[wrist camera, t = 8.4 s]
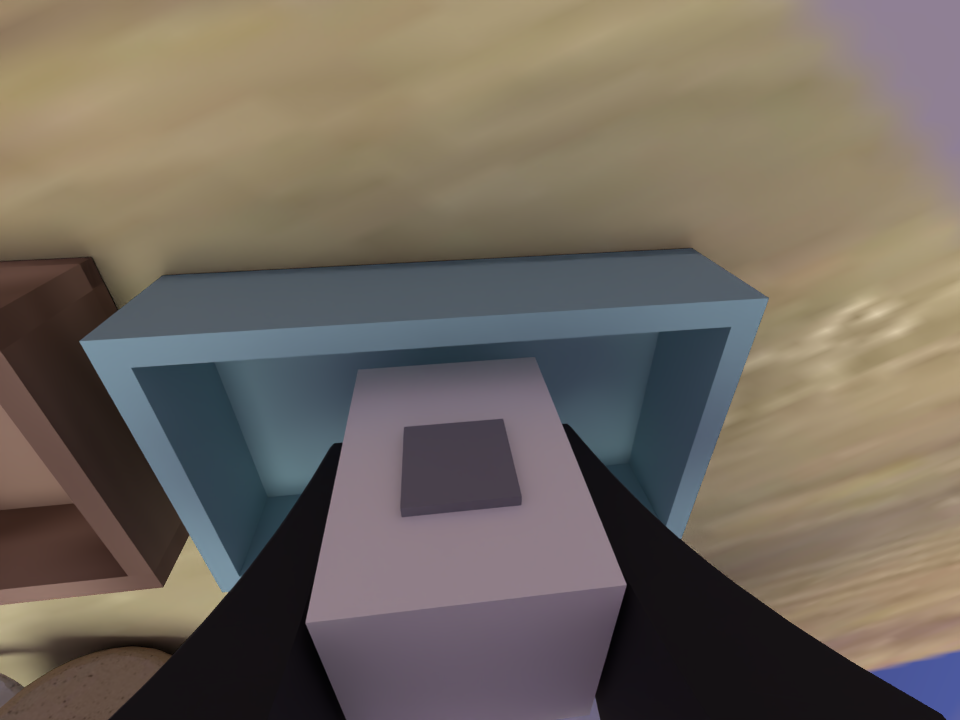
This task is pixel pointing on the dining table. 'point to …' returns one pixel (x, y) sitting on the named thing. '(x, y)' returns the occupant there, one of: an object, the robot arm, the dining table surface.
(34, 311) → the walnut tray
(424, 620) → the letter block
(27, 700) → the ceramic mug
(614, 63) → the dining table surface
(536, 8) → the dining table surface
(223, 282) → the teal tray
